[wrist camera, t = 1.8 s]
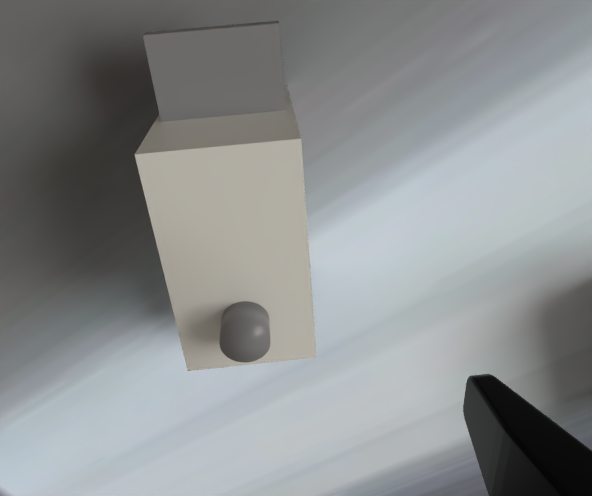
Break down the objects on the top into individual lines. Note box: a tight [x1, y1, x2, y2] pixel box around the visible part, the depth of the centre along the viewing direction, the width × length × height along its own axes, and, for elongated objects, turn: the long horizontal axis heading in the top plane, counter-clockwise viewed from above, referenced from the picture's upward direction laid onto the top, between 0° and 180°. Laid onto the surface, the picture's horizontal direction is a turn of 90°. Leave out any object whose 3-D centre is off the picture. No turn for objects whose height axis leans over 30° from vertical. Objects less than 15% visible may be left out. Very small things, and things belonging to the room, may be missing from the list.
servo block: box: [135, 21, 316, 371], centre depth 16 cm, size 4×12×7 cm, turn 4°
